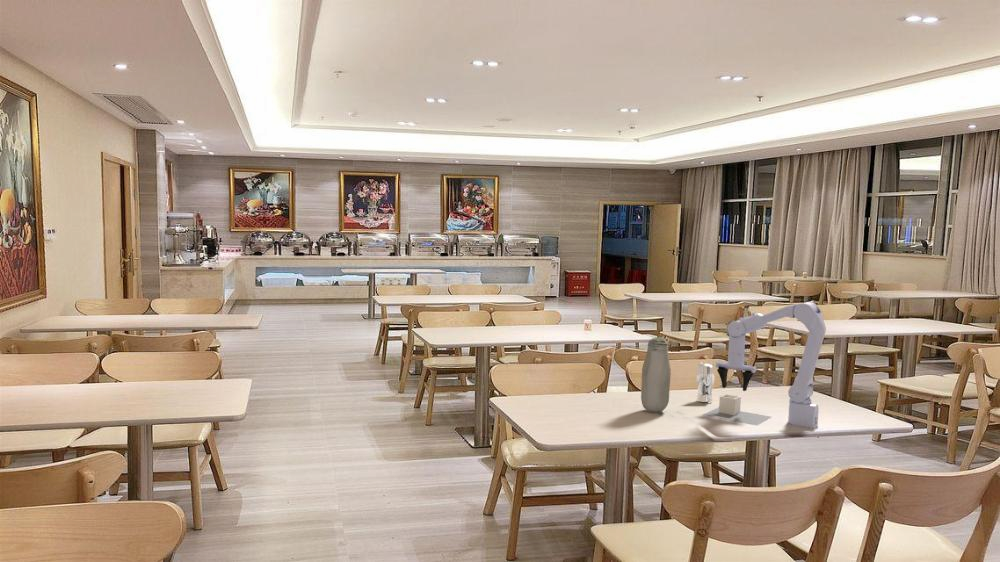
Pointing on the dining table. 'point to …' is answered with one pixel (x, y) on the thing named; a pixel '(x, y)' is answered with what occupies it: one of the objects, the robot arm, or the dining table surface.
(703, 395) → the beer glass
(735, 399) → the collar
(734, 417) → the duct panel
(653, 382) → the grey bottle
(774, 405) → the dining table surface
